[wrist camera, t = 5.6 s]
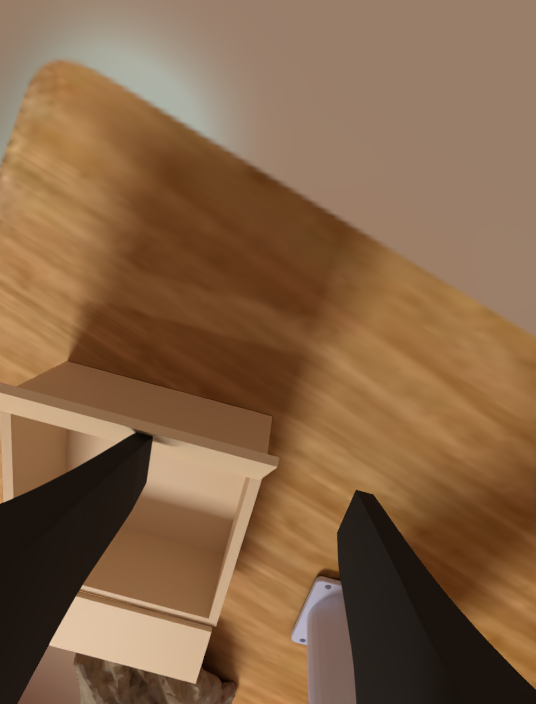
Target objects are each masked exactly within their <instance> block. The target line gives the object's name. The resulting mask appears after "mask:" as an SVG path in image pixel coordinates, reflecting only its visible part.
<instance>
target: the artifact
mask: <svg viewBox="0 0 536 704" xmlns="http://www.w3.org/2000/svg"><path fill="white" fill-rule="evenodd" d="M74 666H75V668H76V671H77V676H78V680H79V687H80V690H81V704H231V703H232V701H233V699H234V697H235V690H236V686H235V684H234V682H231V681H228V682H223V683H221V681H220V679H219V678H218V677H217V676H215V675H213V674H211V673H209V672H208V671H205V670H204V669H203V668H202V667H201V668H200V671H199V674H198V678H197V681H196V684H194V683H190V682H187V681H183V680H179V679H175V678H171V677H168V676H164V675H160V674H156V673H152V672H149V671H145V670H141V669H137V668H133V667H130V666H126V665H122V664H118V663H115V662H111V661H107V660H103V659H99V658H96V657H92V656H88V655H84V654H80V653H77V652H76V655H75V659H74Z"/></svg>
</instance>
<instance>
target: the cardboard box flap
mask: <svg viewBox="0 0 536 704" xmlns="http://www.w3.org/2000/svg"><path fill="white" fill-rule="evenodd" d="M0 411H3V412H7V413H11V414H14V415H18V416H22V417H26V418H29V419H33V420H37V421H40V422H44V423H48V424H52V425H55V426H59V427H63V428H67V429H70V430H74V431H78V432H81V433H85V434H89V435H93V436H96V437H100V438H104V439H108V440H111V441H115V442H120V441H122V440H123V439H125V438H127V437H128V436H130V435H132V434H134V433H136V432H138V433H142V434H145V435H149V436H153V442H152V449H151V451H152V452H156V453H160V454H164V455H167V456H171V457H175V458H178V459H182V460H186V461H190V462H193V463H197V464H201V465H205V466H208V467H212V468H216V469H220V470H223V471H227V472H231V473H234V474H238V475H242V476H246V477H249V478H253V479H257V480H260V479H262V478H263V477H264V476H266V475H267V474H269V473H270V472H271V471H273V470H274V469H276V468H277V467H278V463H279V459H280V457H276V456H272V455H268V454H265V453H261V452H257V451H253V450H250V449H246V448H242V447H239V446H235V445H231V444H227V443H224V442H220V441H216V440H213V439H209V438H205V437H201V436H198V435H194V434H190V433H186V432H183V431H179V430H175V429H172V428H168V427H164V426H160V425H157V424H153V423H149V422H146V421H142V420H138V419H134V418H131V417H127V416H123V415H119V414H116V413H112V412H108V411H105V410H101V409H97V408H93V407H90V406H86V405H82V404H79V403H75V402H71V401H67V400H64V399H60V398H56V397H52V396H49V395H45V394H41V393H38V392H34V391H30V390H26V389H23V388H19V387H15V386H11V385H8V384H4V383H0Z"/></svg>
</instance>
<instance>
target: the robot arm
mask: <svg viewBox="0 0 536 704" xmlns="http://www.w3.org/2000/svg"><path fill="white" fill-rule="evenodd" d="M152 442H153V436H149V435H145V434H142V433H138V432H136V433H134V434H132V435H130V436H128V437H127V438H125V439H123V440H122V441H120V442H119V443H117V444H115V445H114V446H112V447H110V448H109V449H107V450H105V451H104V452H102V453H100V454H99V455H97V456H95V457H93V458H92V459H90V460H88V461H86V462H85V463H83V464H81V465H79V466H78V467H76V468H74V469H72V470H70V471H68V472H66V473H65V474H63V475H61V476H59V477H57V478H55V479H53V480H51V481H49V482H47V483H45V484H43V485H41V486H39V487H37V488H35V489H33V490H31V491H29V492H26V493H24V494H22V495H20V496H17V497H15V498H13V499H10V500H8V501H6V502H3V503H1V504H0V704H17V703H18V701H19V700H20V698H21V696H22V694H23V692H24V690H25V688H26V686H27V684H28V682H29V680H30V679H31V677H32V675H33V673H34V671H35V669H36V667H37V666H38V664H39V662H40V660H41V658H42V657H43V655H44V653H45V651H46V649H47V647H48V645H49V644H50V642H51V640H52V638H53V636H54V634H55V633H56V631H57V629H58V627H59V625H60V624H61V622H62V620H63V618H64V617H65V615H66V613H67V611H68V609H69V608H70V606H71V604H72V602H73V601H74V599H75V597H76V595H77V594H78V592H79V590H80V589H81V587H82V585H83V584H84V582H85V581H86V579H87V577H88V576H89V574H90V573H91V571H92V570H93V568H94V567H95V565H96V564H97V563H98V561H99V560H100V558H101V557H102V555H103V554H104V552H105V551H106V549H107V548H108V546H109V545H110V543H111V542H112V540H113V539H114V537H115V536H116V534H117V533H118V531H119V530H120V528H121V527H122V525H123V524H124V522H125V521H126V519H127V518H128V516H129V514H130V513H131V511H132V510H133V508H134V506H135V504H136V502H137V500H138V498H139V496H140V494H141V493H142V491H143V489H144V487H145V485H146V483H147V476H148V469H149V462H150V456H151V449H152ZM337 542H338V565H339V572H340V579H341V581H338V580H334V579H331V578H327V577H323V576H320V577H317V578H316V580H315V582H314V584H313V586H312V588H311V591H310V593H309V595H308V597H307V600H306V602H305V604H304V606H303V608H302V611H301V613H300V615H299V617H298V620H297V622H296V624H295V626H294V628H293V631H292V633H291V639H292V640H293V641H294V642H297V643H300V644H304V645H307V670H308V704H536V690H535V689H534V688H533V687H532V686H531V685H530V684H529V683H528V682H527V681H526V680H525V679H524V678H523V677H522V676H521V675H520V674H519V673H518V672H517V671H516V670H515V669H514V668H513V667H512V666H511V665H510V664H509V663H508V662H507V661H506V660H505V659H504V657H503V656H502V655H501V654H500V653H499V652H498V651H497V650H496V649H495V648H494V647H493V646H492V645H491V644H490V643H489V642H488V641H487V640H486V639H485V638H484V636H483V635H482V634H481V633H480V632H479V631H478V630H477V629H476V628H475V627H474V625H473V624H472V623H471V622H470V621H469V620H468V619H467V617H466V616H465V615H464V614H463V613H462V612H461V611H460V609H459V608H458V607H457V606H456V605H455V604H454V603H453V601H452V600H451V599H450V598H449V597H448V595H447V594H446V593H445V592H444V591H443V589H442V588H441V587H440V585H439V584H438V583H437V582H436V580H435V579H434V578H433V577H432V575H431V574H430V573H429V572H428V570H427V569H426V568H425V566H424V565H423V564H422V562H421V561H420V560H419V558H418V557H417V556H416V554H415V553H414V552H413V550H412V549H411V547H410V546H409V545H408V543H407V542H406V541H405V539H404V538H403V536H402V535H401V533H400V532H399V531H398V529H397V528H396V526H395V525H394V523H393V522H392V521H391V519H390V518H389V516H388V515H387V513H386V512H385V510H384V509H383V507H382V506H381V505H380V503H379V502H378V500H377V499H376V498H375V496H374V495H373V494H369V493H366V492H362V491H358V490H356V491H355V493H354V496H353V498H352V500H351V503H350V505H349V507H348V509H347V512H346V514H345V516H344V518H343V521H342V523H341V525H340V528H339V530H338V532H337Z"/></svg>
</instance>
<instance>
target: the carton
mask: <svg viewBox="0 0 536 704" xmlns="http://www.w3.org/2000/svg"><path fill="white" fill-rule="evenodd" d="M17 387H19V388H23V389H26V390H30V391H34V392H38V393H41V394H45V395H49V396H52V397H56V398H60V399H64V400H67V401H71V402H75V403H79V404H82V405H86V406H90V407H93V408H97V409H101V410H105V411H108V412H112V413H116V414H119V415H123V416H127V417H131V418H134V419H138V420H142V421H146V422H149V423H153V424H157V425H160V426H164V427H168V428H172V429H175V430H179V431H183V432H186V433H190V434H194V435H198V436H201V437H205V438H209V439H213V440H216V441H220V442H224V443H227V444H231V445H235V446H239V447H242V448H246V449H250V450H253V451H257V452H261V453H265V454H268V446H269V439H270V431H271V424H272V416H269V415H265V414H262V413H258V412H254V411H251V410H247V409H243V408H239V407H236V406H232V405H228V404H225V403H221V402H217V401H213V400H210V399H206V398H202V397H199V396H195V395H191V394H187V393H184V392H180V391H176V390H173V389H169V388H165V387H161V386H158V385H154V384H150V383H147V382H143V381H139V380H136V379H132V378H128V377H124V376H121V375H117V374H113V373H110V372H106V371H102V370H98V369H95V368H91V367H87V366H84V365H80V364H76V363H72V362H69V361H66V362H64V363H62V364H60V365H58V366H56V367H54V368H52V369H50V370H48V371H46V372H44V373H42V374H40V375H38V376H37V377H35V378H33V379H31V380H29V381H27V382H25V383H23V384H21V385H19V386H17ZM0 436H1V456H2V477H3V497H4V502H6V501H8V500H10V499H13V498H15V497H17V496H20V495H22V494H24V493H26V492H29V491H31V490H33V489H35V488H37V487H39V486H41V485H43V484H45V483H47V482H49V481H51V480H53V479H55V478H57V477H59V476H61V475H63V474H65V473H66V472H68V471H70V470H72V469H74V468H76V467H78V466H79V465H81V464H83V463H85V462H86V461H88V460H90V459H92V458H93V457H95V456H97V455H99V454H100V453H102V452H104V451H105V450H107V449H109V448H110V447H112V446H114V445H115V444H117V443H119V442H115V441H111V440H108V439H104V438H100V437H96V436H93V435H89V434H85V433H81V432H78V431H74V430H70V429H67V428H63V427H59V426H55V425H52V424H48V423H44V422H40V421H37V420H33V419H29V418H26V417H22V416H18V415H14V414H11V413H7V412H3V411H0ZM261 481H262V479H260V480H257V479H253V478H249V477H246V476H242V475H238V474H234V473H231V472H227V471H223V470H220V469H216V468H212V467H208V466H205V465H201V464H197V463H193V462H190V461H186V460H182V459H178V458H175V457H171V456H167V455H164V454H160V453H156V452H152V451H151V456H150V462H149V469H148V476H147V483H146V485H145V487H144V489H143V491H142V493H141V494H140V496H139V498H138V500H137V502H136V504H135V506H134V508H133V510H132V511H131V513H130V514H129V516H128V518H127V519H126V521H125V522H124V524H123V525H122V527H121V528H120V530H119V531H118V533H117V534H116V536H115V537H114V539H113V540H112V542H111V543H110V545H109V546H108V548H107V549H106V551H105V552H104V554H103V555H102V557H101V558H100V560H99V561H98V563H97V564H96V565H95V567H94V568H93V570H92V571H91V573H90V574H89V576H88V577H87V579H86V581H85V582H84V584H83V585H82V587H81V589H80V590H79V591H83V592H87V593H90V594H94V595H98V596H102V597H105V598H109V599H113V600H117V601H121V602H124V603H128V604H132V605H136V606H139V607H143V608H147V609H151V610H155V611H158V612H162V613H166V614H170V615H173V616H177V617H181V618H185V619H188V620H192V621H196V622H200V623H204V624H207V625H211V626H215V627H216V625H217V622H218V618H219V615H220V612H221V609H222V606H223V602H224V599H225V596H226V593H227V590H228V586H229V583H230V580H231V577H232V574H233V570H234V567H235V564H236V561H237V558H238V554H239V551H240V548H241V545H242V542H243V538H244V535H245V532H246V529H247V526H248V523H249V519H250V516H251V513H252V510H253V507H254V503H255V500H256V497H257V494H258V491H259V487H260V484H261ZM83 592H78V594H77V595H76V597H75V599H74V601H73V602H72V604H71V606H70V608H69V609H68V611H67V613H66V615H65V617H64V618H63V620H62V622H61V624H60V625H59V627H58V629H57V631H56V633H55V634H54V636H53V638H52V640H51V642H50V644H49V645H50V646H54V647H58V648H62V649H65V650H69V651H73V652H77V653H80V654H84V655H88V656H92V657H96V658H99V659H103V660H107V661H111V662H115V663H118V664H122V665H126V666H130V667H133V668H137V669H141V670H145V671H149V672H152V673H156V674H160V675H164V676H168V677H171V678H175V679H179V680H183V681H187V682H190V683H194V684H196V681H197V678H198V674H199V671H200V668H201V665H202V661H203V658H204V655H205V652H206V648H207V645H208V642H209V639H210V635H211V632H212V628H213V627H211V626H207V625H203V624H200V623H196V622H192V621H188V620H185V619H181V618H177V617H173V616H170V615H166V614H162V613H158V612H154V611H151V610H147V609H143V608H139V607H136V606H132V605H128V604H124V603H120V602H117V601H113V600H109V599H105V598H102V597H98V596H94V595H90V594H87V593H83Z"/></svg>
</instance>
